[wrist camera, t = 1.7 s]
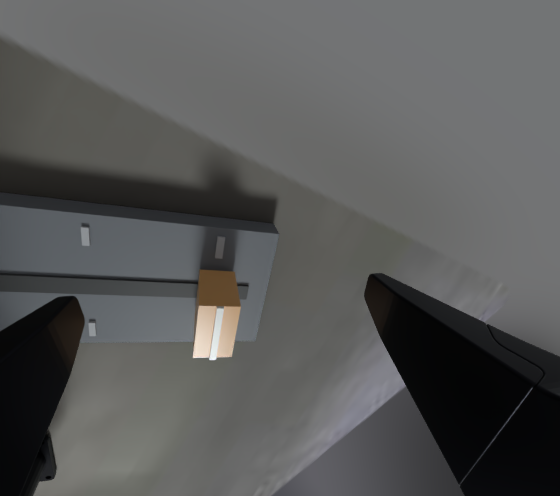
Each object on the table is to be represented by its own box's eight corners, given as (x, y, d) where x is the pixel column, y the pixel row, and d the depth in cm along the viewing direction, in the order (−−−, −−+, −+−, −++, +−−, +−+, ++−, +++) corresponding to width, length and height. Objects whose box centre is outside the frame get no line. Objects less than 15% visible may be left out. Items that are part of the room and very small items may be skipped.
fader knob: (227, 316, 22) (231, 359, 18) (194, 315, 21) (192, 360, 18) (234, 271, 20) (241, 309, 17) (199, 269, 20) (198, 307, 16)
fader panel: (251, 325, 26) (255, 342, 24) (-102, 322, 19) (-136, 347, 17) (273, 223, 22) (280, 235, 20) (-165, 173, 15) (-218, 183, 13)
